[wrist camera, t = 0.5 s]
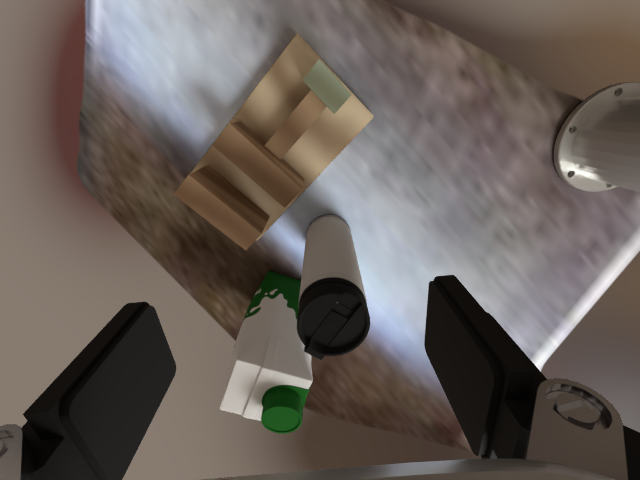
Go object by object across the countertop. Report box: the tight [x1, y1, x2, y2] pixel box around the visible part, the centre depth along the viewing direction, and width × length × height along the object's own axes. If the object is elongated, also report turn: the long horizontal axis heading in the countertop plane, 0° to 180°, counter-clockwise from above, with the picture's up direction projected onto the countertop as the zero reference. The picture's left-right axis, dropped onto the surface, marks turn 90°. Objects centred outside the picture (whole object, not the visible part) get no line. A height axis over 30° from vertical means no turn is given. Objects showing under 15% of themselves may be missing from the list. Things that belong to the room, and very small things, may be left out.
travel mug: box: [297, 214, 370, 360], centre depth 34 cm, size 6×7×20 cm
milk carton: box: [220, 270, 313, 433], centre depth 38 cm, size 9×9×20 cm
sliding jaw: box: [213, 59, 352, 208], centre depth 33 cm, size 13×10×5 cm
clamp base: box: [174, 33, 374, 250], centre depth 35 cm, size 22×12×7 cm, turn 137°
